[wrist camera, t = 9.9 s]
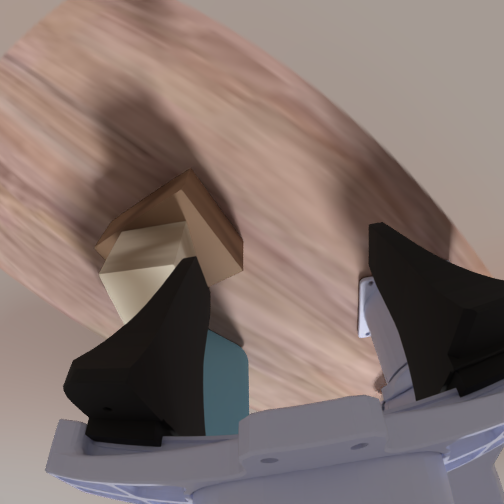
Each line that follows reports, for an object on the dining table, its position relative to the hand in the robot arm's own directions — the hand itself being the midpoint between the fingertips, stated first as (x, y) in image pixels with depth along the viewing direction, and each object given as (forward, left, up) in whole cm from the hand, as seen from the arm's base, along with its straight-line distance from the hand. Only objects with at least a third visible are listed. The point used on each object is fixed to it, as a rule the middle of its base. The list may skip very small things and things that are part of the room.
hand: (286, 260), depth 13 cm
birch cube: (+8, +3, -7) cm, 11 cm away
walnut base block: (+8, +3, -11) cm, 14 cm away
